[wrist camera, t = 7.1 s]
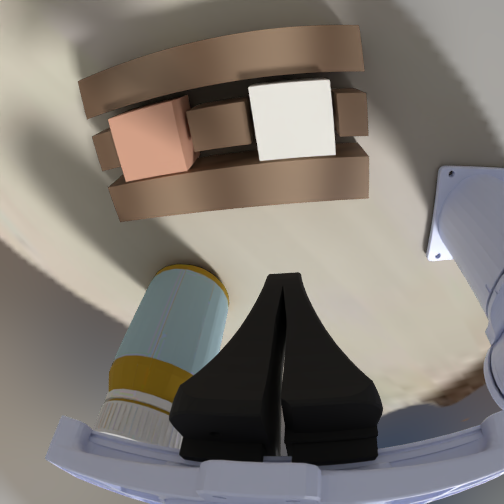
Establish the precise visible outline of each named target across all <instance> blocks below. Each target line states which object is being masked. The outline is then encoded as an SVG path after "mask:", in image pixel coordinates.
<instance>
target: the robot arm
mask: <svg viewBox="0 0 504 504" xmlns="http://www.w3.org/2000/svg"><path fill="white" fill-rule="evenodd" d="M450 171H452V174H451V175H449V172H450ZM438 253H439V254H438ZM436 254H438V255H437V256H436ZM426 257H427V259H428V260H429V261H438V260H449V259H454V261H455V262H456V264H457V265H458V267H459V269H460V270H461V272H462V273H463V275H464V277H465V278H466V280H467V282H468V284H469V285H470V287H471V289H472V290H473V292H474V294H475V296H476V298H477V299H478V301H479V303H480V305H481V307H482V308H483V310H484V312H485V314H486V316H487V318H488V320H489V324H488V327H487V329H486V331H485V333H486V335H487V337H488V339H489V342H490V344H491V347H490V348H489V350H488V352H487V354H486V357H485V361H484V376H485V381H486V384H487V387H488V390H489V392H490V394H491V396H492V397H493V399H494V400H495V402H496V403H497V404H498V406H499V407H500V408H501V409H502V411H499V412H497V413H494V414H492V415H490V416H489V417H487V418H486V419H485V420H484V421H483V422H482V424H481V425H478V426H475V427H472V428H469V429H465V430H462V431H459V432H455V433H452V434H448V435H444V436H440V437H436V438H433V439H428V440H424V441H419V442H415V443H410V444H405V445H400V446H394V447H388V448H382V449H378V448H377V436H378V430H377V424H378V422H379V420H380V418H381V415H382V412H383V407H382V403H381V399H380V396H379V394H378V391H377V389H376V387H375V385H374V383H373V381H372V380H371V379H370V378H368V377H367V376H366V375H365V374H364V373H363V372H362V371H361V370H360V369H359V368H357V366H356V365H355V364H354V363H353V362H352V361H351V360H350V359H349V358H348V357H347V356H346V355H345V354H344V352H343V351H342V350H341V349H340V348H339V347H338V345H337V344H336V343H335V342H334V340H333V339H332V338H331V336H330V335H329V333H328V332H327V330H326V329H325V327H324V326H323V324H322V323H321V321H320V319H319V318H318V316H317V314H316V312H315V310H314V309H313V307H312V304H311V302H310V300H309V298H308V296H307V294H306V291H305V288H304V285H303V282H302V278H301V274H300V273H298V272H297V273H282V274H269V275H268V276H267V279H266V281H265V284H264V286H263V289H262V291H261V293H260V295H259V297H258V299H257V301H256V303H255V304H254V306H253V308H252V310H251V311H250V313H249V315H248V316H247V318H246V319H245V321H244V322H243V324H242V325H241V327H240V328H239V330H238V331H237V332H236V333H235V335H234V336H233V337H232V339H231V340H230V341H229V342H228V343H227V344H226V345H225V347H224V348H223V349H222V350H221V351H220V352H219V353H218V354H217V355H216V356H215V357H214V358H213V359H212V360H211V361H210V362H209V363H207V364H206V365H205V366H204V367H203V368H202V369H201V370H200V371H198V372H197V373H196V374H194V375H193V376H192V377H190V378H189V379H188V380H186V381H185V382H184V383H182V384H181V385H180V386H179V388H178V390H177V393H176V395H175V397H174V400H173V403H172V407H171V411H170V414H169V421H170V422H171V424H172V425H173V427H174V428H175V429H176V430H177V431H178V432H179V433H180V434H181V435H182V436H183V439H182V443H181V448H180V449H177V448H171V447H165V446H159V445H153V444H148V443H143V442H138V441H134V440H129V439H125V438H121V437H117V436H113V435H109V434H105V433H101V432H98V431H94V430H92V429H91V428H90V427H89V426H88V425H87V424H85V423H84V422H82V421H79V420H76V419H73V418H70V417H67V416H61V419H60V421H59V424H58V426H57V429H56V431H55V433H54V436H53V438H52V441H51V443H50V446H49V449H48V451H47V454H46V457H45V459H46V460H47V461H49V462H51V463H52V464H54V465H56V466H57V467H59V468H60V469H62V470H64V471H66V472H67V473H69V474H71V475H73V476H75V477H76V478H79V479H81V480H84V481H86V482H88V483H91V484H94V485H96V486H99V487H101V488H104V489H107V490H110V491H112V492H115V493H118V494H121V495H124V496H127V497H130V498H133V499H136V500H139V501H143V502H146V503H150V504H425V503H429V502H432V501H435V500H439V499H442V498H445V497H447V496H451V495H453V494H456V493H459V492H462V491H465V490H467V489H470V488H472V487H475V486H477V485H480V484H482V483H485V482H487V481H489V480H492V479H494V478H497V477H498V476H500V475H502V474H503V473H504V168H494V167H474V166H442V167H440V169H439V171H438V178H437V188H436V196H435V204H434V212H433V218H432V225H431V231H430V237H429V242H428V248H427V253H426ZM284 357H285V360H284ZM283 366H284V371H283ZM282 375H283V380H282ZM281 406H282V410H283V416H284V422H285V437H284V443H285V444H286V449H287V454H288V456H280V455H281V454H280V452H281Z"/></svg>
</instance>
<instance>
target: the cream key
mask: <svg viewBox="0 0 504 504" xmlns="http://www.w3.org/2000/svg"><path fill="white" fill-rule="evenodd" d="M248 90H249V96H250V102H251V109H252V115H253V121H254V128H255V134H256V140H257V147H258V153H259V160H260V161H265V160H275V159H286V158H298V157H311V156H327V155H336V151H335V135H334V121H333V109H332V98H331V88H330V80H328V79H326V78H323V77H318V78H302V79H290V80H279V81H269V82H261V83H253V84H252V85H250V86H249V87H248Z"/></svg>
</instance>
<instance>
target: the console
mask: <svg viewBox="0 0 504 504" xmlns="http://www.w3.org/2000/svg"><path fill="white" fill-rule="evenodd" d="M341 71H364V62H363V53H362V44H361V36H360V29H359V25H314V26H297V27H284V28H274V29H265V30H257V31H250V32H243V33H237V34H231V35H225V36H220V37H215V38H210V39H205V40H201V41H196V42H192V43H188V44H184V45H180V46H176V47H173V48H169V49H165V50H162V51H158V52H155V53H152V54H149V55H145V56H142V57H139V58H136V59H133V60H130V61H128V62H125V63H122V64H119V65H116V66H114V67H111V68H109V69H106V70H103V71H101V72H99V73H96V74H94V75H91V76H89V77H87V78H84V79H82V80H80V81H78V84H79V88H80V93H81V97H82V101H83V105H84V109H85V113H86V117H87V119H89V118H92V117H95V116H97V115H100V114H103V113H106V112H109V111H112V110H115V109H118V108H121V107H125V106H128V105H131V104H134V103H138V102H141V101H145V100H149V99H152V98H156V97H160V96H164V95H168V94H172V93H176V92H180V91H185V90H189V89H194V88H199V87H204V86H209V85H214V84H220V83H225V82H231V81H238V80H244V79H251V78H259V77H267V76H276V75H287V74H299V73H314V72H341ZM331 98H332V109H333V121H334V129H335V130H336V132H337V133H338V135H339V136H340V137H344V136H368V113H367V96H366V93H365V92H362V91H360V90H357V89H355V88H339V89H331ZM186 114H187V119H188V124H189V128H190V133H191V137H192V142H193V146H194V151H195V152H198V151H204V150H210V149H217V148H224V147H231V146H239V145H247V144H251V143H252V141H253V138H254V135H255V128H254V121H253V115H252V109H251V102H250V96H245V97H238V98H231V99H225V100H219V101H213V102H208V103H202V104H199V105H197V106H195V107H193V108H192V109H190V110H188V111H186ZM92 138H93V142H94V145H95V149H96V152H97V155H98V158H99V162H100V165H101V168H102V171H105V170H109V169H113V168H117V167H121V164H120V161H119V157H118V154H117V150H116V147H115V143H114V140H113V136H112V133H111V129H110V128H108V129H106V130H104V131H102V132H100V133H98V134H96V135H94V136H92ZM335 151H336V155H327V156H311V157H298V158H286V159H275V160H265V161H260V160H259V153H258V150H251V151H243V152H235V153H227V154H220V155H213V156H206V157H200V158H197V159H196V161H195V162H194V163H193V164H192V166H191V167H190V168H189V169H188V171H183V172H177V173H171V174H165V175H159V176H154V177H148V178H143V179H138V180H133V181H128V182H126V180H125V177H124V174H123V175H122V176H121V177H120V178H119V179H117V180H116V181H115V182H114V183H113V184H112V185H111V186H109V187H108V189H109V192H110V195H111V198H112V201H113V203H114V206H115V209H116V212H117V214H118V217H119V220H120V222H124V221H132V220H139V219H147V218H154V217H162V216H170V215H179V214H187V213H196V212H205V211H214V210H224V209H234V208H244V207H255V206H266V205H278V204H290V203H303V202H317V201H332V200H348V199H366V198H369V156H368V155H367V153H366V152H365V151H364V150H363V149H362V147H361V146H360V145H359V144H358V143H335Z"/></svg>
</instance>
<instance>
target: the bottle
mask: <svg viewBox="0 0 504 504" xmlns="http://www.w3.org/2000/svg"><path fill="white" fill-rule="evenodd" d="M228 306H229V296H228V293H227V291H226V289H225V287H224V285H223V284H222V283H221V282H220V281H219V280H218V279H217V278H216V277H215V276H214V275H213V274H211V273H210V272H208V271H206V270H205V269H203V268H200V267H197V266H194V265H184V264H176V265H171V266H167V267H165V268H163V269H161V270H160V271H158V272H157V274H156V275H155V277H154V278H153V280H152V281H151V283H150V285H149V287H148V289H147V291H146V293H145V295H144V297H143V299H142V301H141V303H140V305H139V307H138V309H137V311H136V313H135V315H134V318H133V320H132V322H131V324H130V326H129V328H128V330H127V332H126V335H125V337H124V339H123V341H122V343H121V345H120V348H119V350H118V352H117V354H116V357H115V359H114V361H113V363H112V367H111V369H110V371H109V392H108V393H107V396H106V398H105V402H104V405H103V406H102V408H101V410H100V413H99V415H98V418H97V421H96V423H95V426H94V428H93V430H94V431H98V432H101V433H105V434H109V435H113V436H117V437H121V438H125V439H129V440H134V441H138V442H143V443H148V444H153V445H159V446H165V447H171V448H177V449H180V448H181V443H182V439H183V436H182V435H181V434H180V433H179V432H178V431H177V430H176V429H175V428H174V427H173V425H172V424H171V422H170V421H169V414H170V411H171V407H172V403H173V400H174V397H175V395H176V393H177V390H178V388H179V386H180V385H181V384H182V383H184V382H185V381H186V380H188V379H189V378H190V377H192V376H193V375H194V374H196V373H197V372H198V371H200V370H201V369H202V368H203V367H204V366H205V365H206V364H207V363H209V362H210V361H211V360H212V359H213V358H214V357H215V356H216V355H217V354H218V353H219V351H220V346H221V342H222V337H223V332H224V327H225V322H226V318H227V313H228Z"/></svg>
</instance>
